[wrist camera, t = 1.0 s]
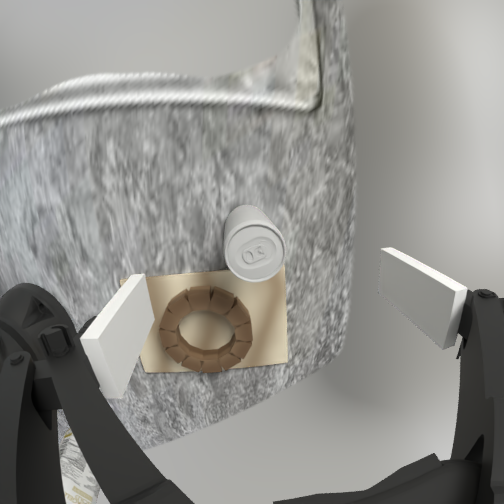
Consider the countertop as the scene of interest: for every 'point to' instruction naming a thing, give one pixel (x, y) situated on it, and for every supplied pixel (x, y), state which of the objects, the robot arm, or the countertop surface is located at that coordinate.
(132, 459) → the robot arm
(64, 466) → the juice carton
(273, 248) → the beverage can
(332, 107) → the countertop surface
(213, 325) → the collar board
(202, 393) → the countertop surface
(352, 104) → the countertop surface
